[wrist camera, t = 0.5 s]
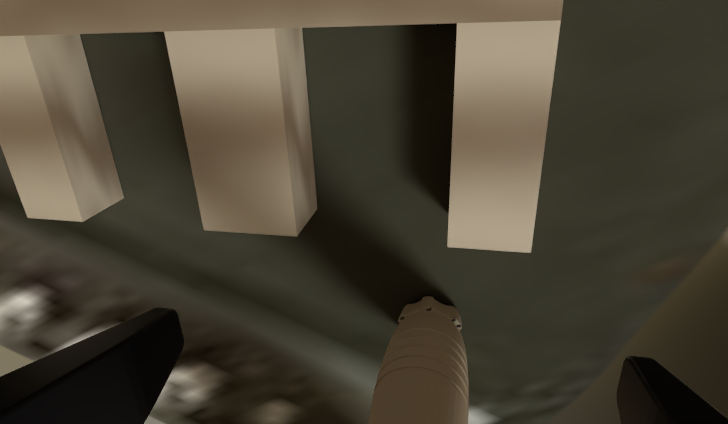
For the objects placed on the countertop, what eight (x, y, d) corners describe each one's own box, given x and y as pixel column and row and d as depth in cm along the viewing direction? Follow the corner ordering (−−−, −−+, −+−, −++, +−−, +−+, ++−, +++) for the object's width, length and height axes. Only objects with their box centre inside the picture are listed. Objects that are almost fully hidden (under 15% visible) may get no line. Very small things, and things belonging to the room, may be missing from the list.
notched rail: (523, 220, 21) (530, 252, 18) (73, 195, 26) (27, 217, 23) (552, -29, 17) (567, -33, 14) (10, -2, 22) (-54, -2, 19)
